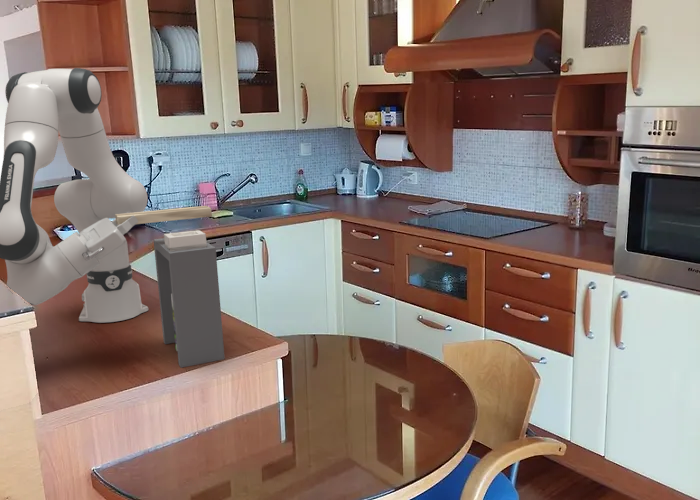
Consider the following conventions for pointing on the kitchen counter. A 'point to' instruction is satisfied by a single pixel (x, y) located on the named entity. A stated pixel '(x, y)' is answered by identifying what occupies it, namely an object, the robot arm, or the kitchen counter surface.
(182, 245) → the ceramic dish
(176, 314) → the shelf
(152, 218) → the slat
